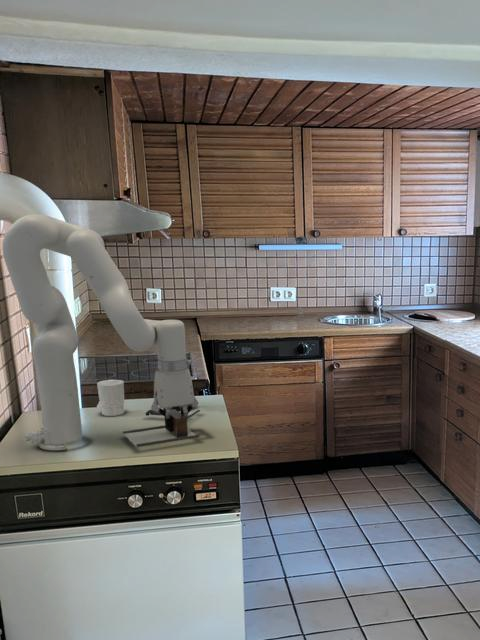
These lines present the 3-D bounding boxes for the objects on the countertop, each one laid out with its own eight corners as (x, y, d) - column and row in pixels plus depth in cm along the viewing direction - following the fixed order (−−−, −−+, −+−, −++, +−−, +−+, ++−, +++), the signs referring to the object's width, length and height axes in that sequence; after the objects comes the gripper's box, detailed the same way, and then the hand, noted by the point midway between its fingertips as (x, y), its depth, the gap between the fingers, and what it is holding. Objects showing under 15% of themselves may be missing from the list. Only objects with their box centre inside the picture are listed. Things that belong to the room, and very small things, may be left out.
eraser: (177, 438, 192) (176, 418, 190) (165, 429, 200) (164, 410, 198) (187, 436, 193) (186, 417, 192) (176, 427, 201) (174, 409, 200)
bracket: (157, 412, 222) (157, 403, 222) (201, 415, 220) (201, 406, 219) (135, 425, 209) (134, 416, 208) (182, 428, 206) (181, 419, 205)
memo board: (137, 452, 184) (136, 444, 184) (123, 438, 196) (122, 431, 195) (199, 442, 193) (199, 435, 193) (182, 429, 205) (182, 422, 204)
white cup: (113, 408, 226) (110, 378, 223) (131, 412, 222) (129, 381, 220) (94, 414, 219) (91, 383, 216) (113, 418, 215) (110, 386, 213)
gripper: (196, 360, 198) (199, 422, 203) (138, 366, 190) (143, 430, 195) (206, 365, 192) (209, 429, 197) (146, 371, 184) (151, 437, 189)
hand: (176, 429), depth 196 cm, fingers closed on eraser, 3 cm apart
